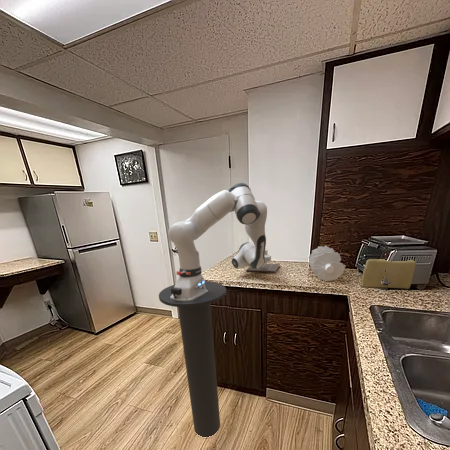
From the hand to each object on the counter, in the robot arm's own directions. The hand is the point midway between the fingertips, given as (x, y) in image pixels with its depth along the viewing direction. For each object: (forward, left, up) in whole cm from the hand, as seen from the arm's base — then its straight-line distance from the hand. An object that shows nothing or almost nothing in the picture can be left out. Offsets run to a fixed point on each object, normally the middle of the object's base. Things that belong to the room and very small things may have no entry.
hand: (264, 255), depth 176 cm
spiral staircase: (-13, -40, -10) cm, 43 cm away
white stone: (-1, 0, -5) cm, 5 cm away
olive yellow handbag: (-26, -70, -10) cm, 76 cm away
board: (-1, +1, -10) cm, 10 cm away
